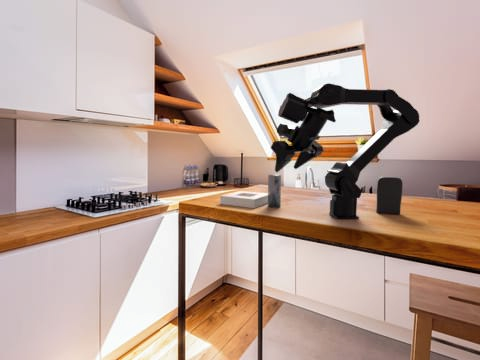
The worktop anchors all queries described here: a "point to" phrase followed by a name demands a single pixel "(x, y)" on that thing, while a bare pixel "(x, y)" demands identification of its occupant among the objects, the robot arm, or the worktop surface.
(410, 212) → the worktop surface
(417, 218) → the worktop surface
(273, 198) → the translucent grey tall cylinder
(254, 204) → the hole block
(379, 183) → the battery
